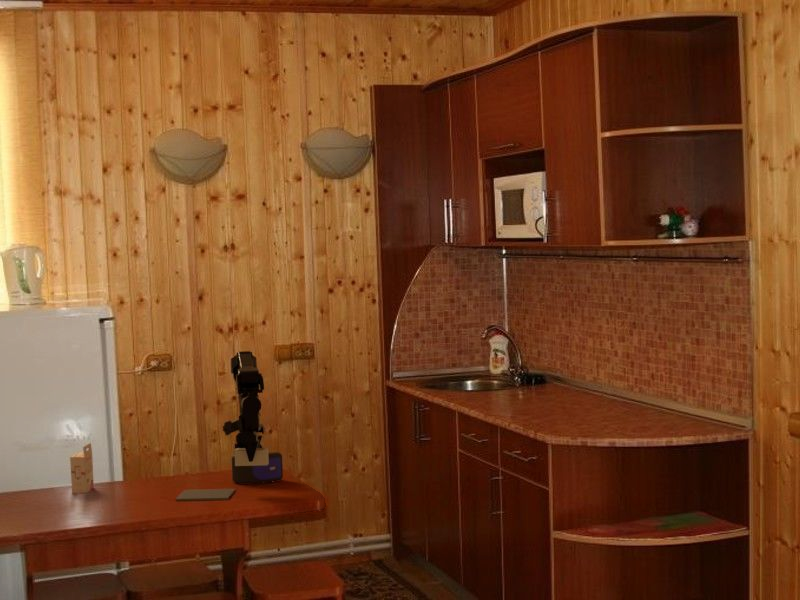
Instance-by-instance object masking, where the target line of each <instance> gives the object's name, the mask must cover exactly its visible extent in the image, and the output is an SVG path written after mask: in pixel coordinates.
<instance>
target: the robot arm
mask: <svg viewBox="0 0 800 600" xmlns="http://www.w3.org/2000/svg"><path fill="white" fill-rule="evenodd" d="M257 363H258V362H257V357H256V356H255V355H253V352H252V351H250V350H246V351H243V350H241V351H238V352H236V355H234V356H232V358H231V359H230V374H232V379H233V381H234V383H235V384H236V392H237V395H238V407H239V410H238V411H239V415H238V418H237V419H234V420H232V421H231V419H230V420H228V421H225V422H224V423H223V425H222V426H221V427H222V431H223V432H224V434H225V436H229V435H230V434H232V433H235V432H237V431H238V433H237V434H236V435H235V443H234V445H233V446H234V447H233V448H234V449H233V456H234V455H235V449H236V448H245V449H246V453H247V456H248V460H249V462H252V461H253V459H254V456H255V453H256V449H257V448H263V445H262V444H261V443H262V439H263V437H264V435H263V434H266V426H265V425H264V424H263V423H261V422H260V417H261V412H260V411H261V409H262V402H261V399H260V397H259V394H260V393H261V394H262V393H264V392H263V391H265V384H264V383H265V382H264V377H263V375H262V373H260V371H259V368H258V364H257ZM260 433H261V434H262V435H259V434H260Z"/></svg>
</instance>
